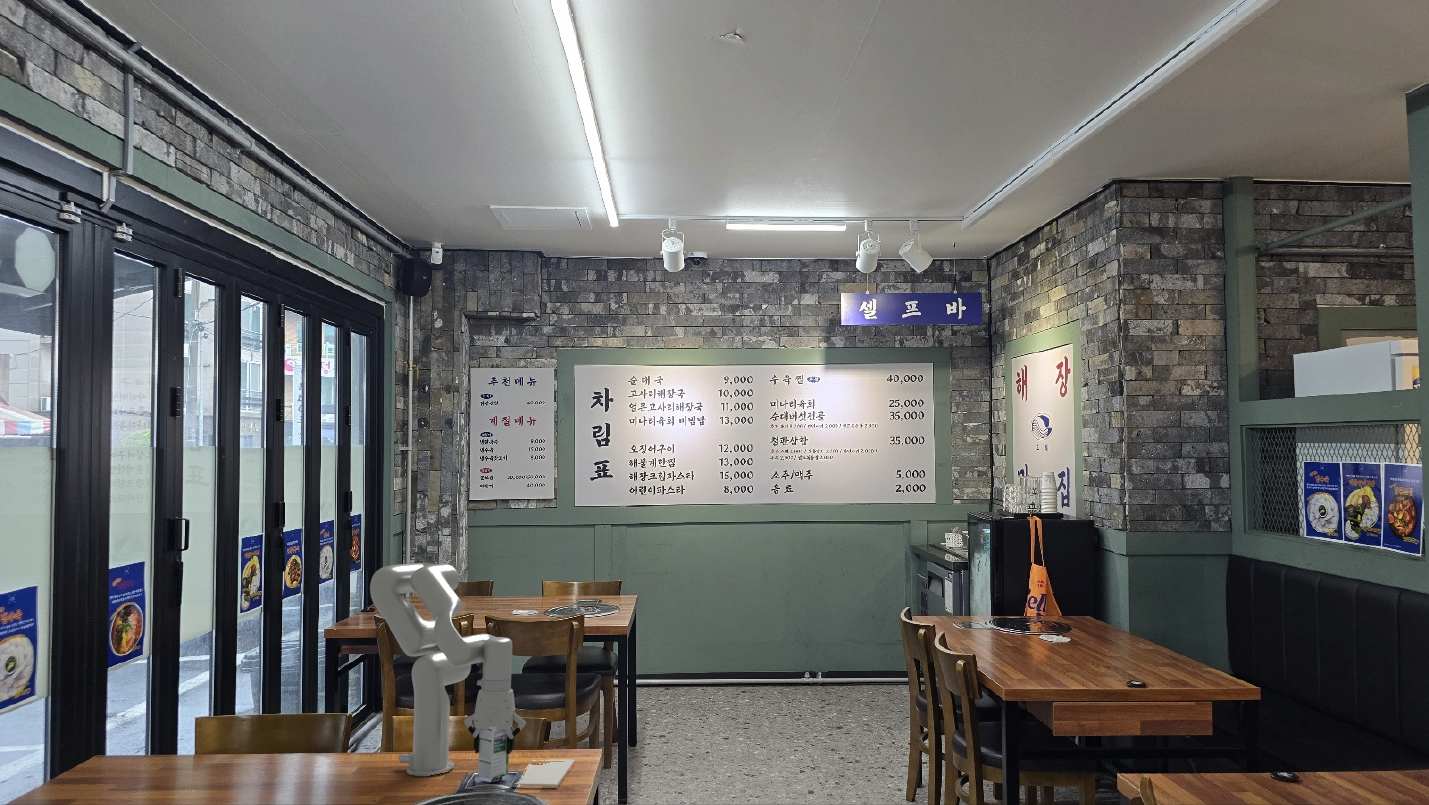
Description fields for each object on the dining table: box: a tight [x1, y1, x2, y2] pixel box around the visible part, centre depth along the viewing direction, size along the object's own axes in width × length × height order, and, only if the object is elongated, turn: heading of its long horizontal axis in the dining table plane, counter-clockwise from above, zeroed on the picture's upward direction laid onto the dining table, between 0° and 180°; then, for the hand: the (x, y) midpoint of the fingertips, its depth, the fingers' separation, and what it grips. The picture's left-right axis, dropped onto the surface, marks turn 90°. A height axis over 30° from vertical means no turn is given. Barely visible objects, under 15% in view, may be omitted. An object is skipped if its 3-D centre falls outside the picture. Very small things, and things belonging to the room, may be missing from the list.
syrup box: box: [477, 726, 510, 779], centre depth 236 cm, size 6×6×14 cm
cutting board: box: [515, 758, 576, 786], centre depth 241 cm, size 12×22×1 cm, turn 177°
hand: (493, 752), depth 236 cm, fingers closed on syrup box, 7 cm apart
